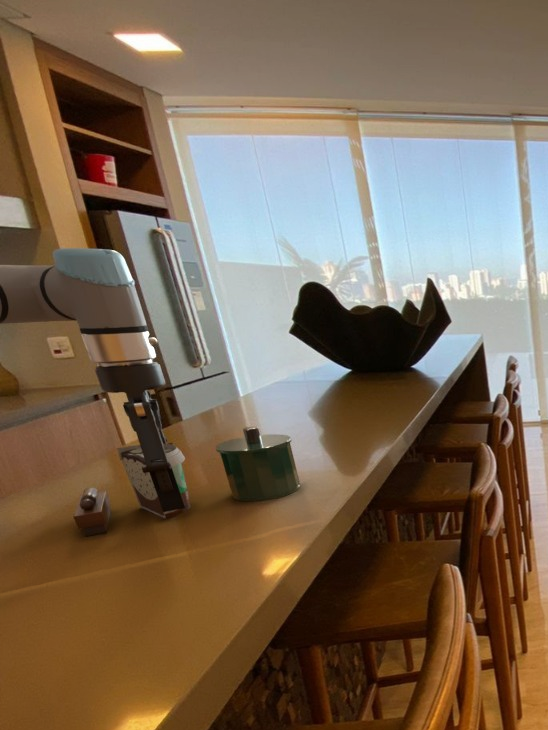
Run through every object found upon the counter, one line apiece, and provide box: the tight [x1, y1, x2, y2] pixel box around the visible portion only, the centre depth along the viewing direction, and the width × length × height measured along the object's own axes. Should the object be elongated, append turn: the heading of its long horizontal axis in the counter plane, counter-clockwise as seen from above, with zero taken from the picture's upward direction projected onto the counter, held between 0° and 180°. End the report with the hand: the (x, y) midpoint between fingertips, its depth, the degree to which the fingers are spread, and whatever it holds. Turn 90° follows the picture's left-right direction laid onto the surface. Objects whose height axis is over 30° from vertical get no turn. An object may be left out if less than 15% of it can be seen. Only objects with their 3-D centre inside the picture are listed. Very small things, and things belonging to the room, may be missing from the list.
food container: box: [116, 443, 192, 519], centre depth 92 cm, size 12×6×10 cm, turn 59°
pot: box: [219, 442, 301, 502], centre depth 99 cm, size 10×10×8 cm
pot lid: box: [215, 426, 292, 454], centre depth 97 cm, size 11×11×4 cm
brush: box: [73, 486, 112, 537], centre depth 86 cm, size 12×3×5 cm, turn 39°
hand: (173, 498), depth 92 cm, fingers closed on food container, 12 cm apart
